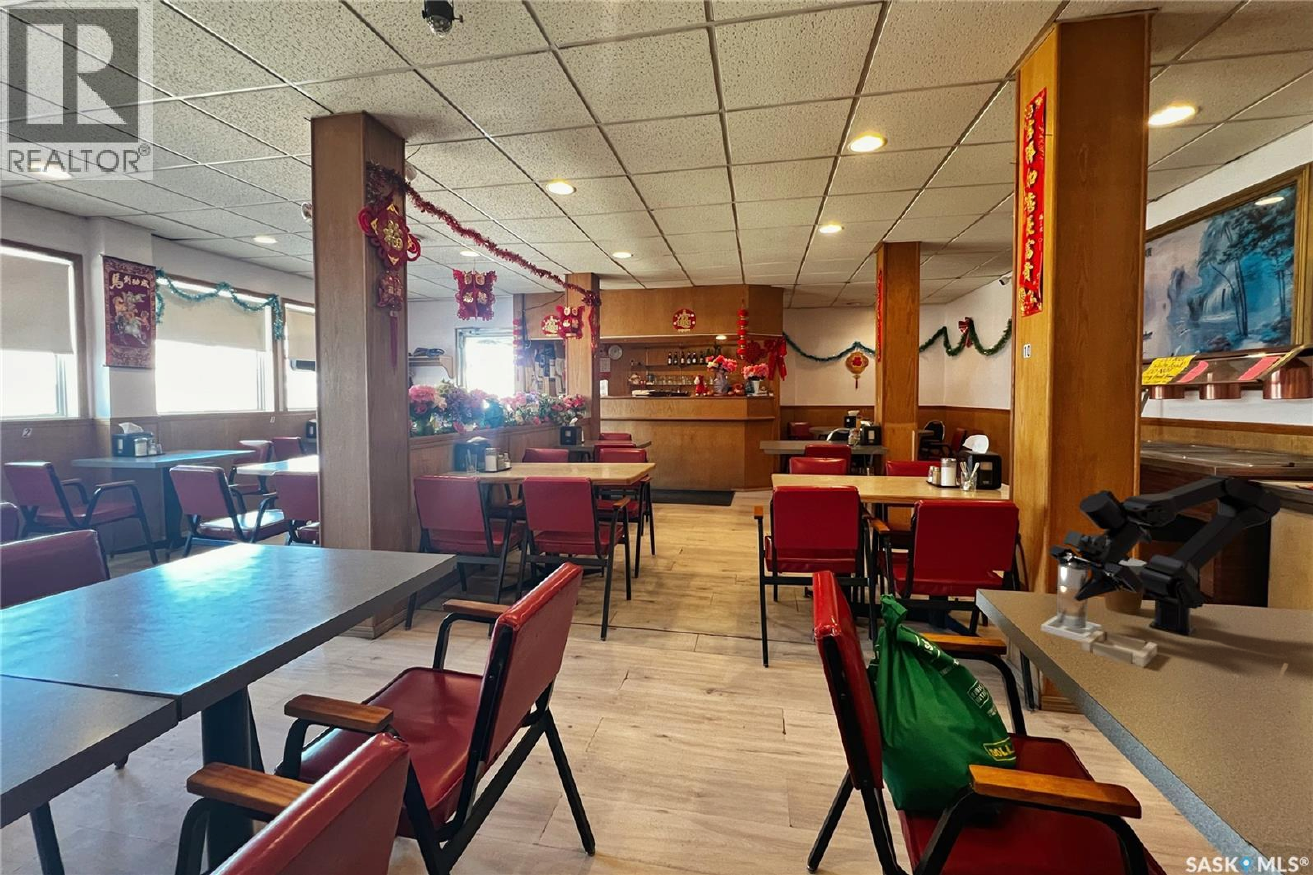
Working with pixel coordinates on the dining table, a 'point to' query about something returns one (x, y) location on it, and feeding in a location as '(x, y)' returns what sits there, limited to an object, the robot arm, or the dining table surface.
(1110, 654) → the tray
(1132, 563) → the disposable coffee cup
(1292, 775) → the dining table surface
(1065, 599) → the battery cell
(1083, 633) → the tray
